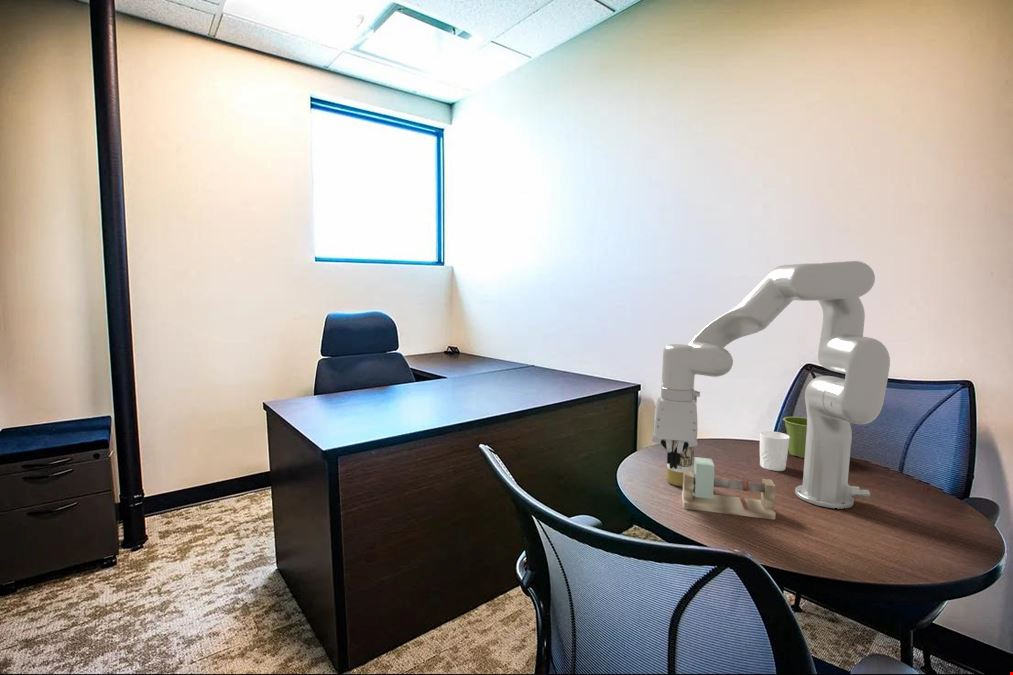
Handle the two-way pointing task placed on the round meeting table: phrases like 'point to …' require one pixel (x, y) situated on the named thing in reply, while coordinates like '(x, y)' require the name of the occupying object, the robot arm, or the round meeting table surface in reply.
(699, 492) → the collar
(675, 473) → the paper tube
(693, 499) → the rod stand
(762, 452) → the white cup
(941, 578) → the round meeting table surface
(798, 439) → the plant pot
